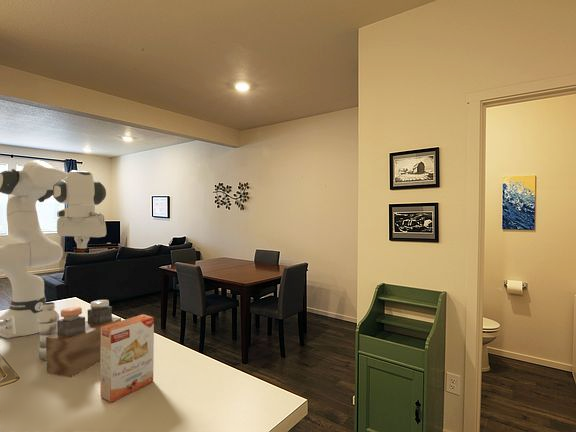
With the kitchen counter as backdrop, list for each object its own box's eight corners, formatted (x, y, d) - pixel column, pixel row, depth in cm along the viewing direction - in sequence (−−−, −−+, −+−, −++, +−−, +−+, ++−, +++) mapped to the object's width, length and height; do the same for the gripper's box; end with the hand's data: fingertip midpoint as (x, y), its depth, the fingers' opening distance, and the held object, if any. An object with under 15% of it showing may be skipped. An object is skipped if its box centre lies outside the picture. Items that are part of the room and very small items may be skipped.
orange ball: (56, 330, 110) (56, 311, 110) (72, 324, 116) (72, 306, 116) (70, 332, 109) (70, 313, 109) (86, 325, 115) (85, 307, 114)
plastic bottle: (49, 363, 116) (48, 306, 116) (33, 361, 117) (32, 305, 117) (65, 355, 122) (64, 301, 122) (49, 353, 124) (48, 300, 123)
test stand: (46, 373, 109) (45, 322, 109) (100, 345, 131) (99, 303, 130) (70, 377, 107) (70, 325, 106) (121, 348, 128) (120, 305, 128)
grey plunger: (86, 320, 122) (86, 303, 122) (99, 315, 128) (99, 299, 128) (100, 322, 120) (99, 304, 120) (112, 317, 126) (112, 300, 126)
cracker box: (111, 404, 92) (110, 330, 92) (99, 397, 96) (98, 326, 95) (155, 381, 104) (154, 316, 104) (143, 376, 108) (142, 313, 107)
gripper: (110, 212, 128) (110, 248, 128) (68, 212, 133) (68, 246, 133) (97, 213, 122) (97, 250, 122) (53, 212, 127) (53, 248, 127)
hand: (82, 248), depth 128 cm, fingers closed
